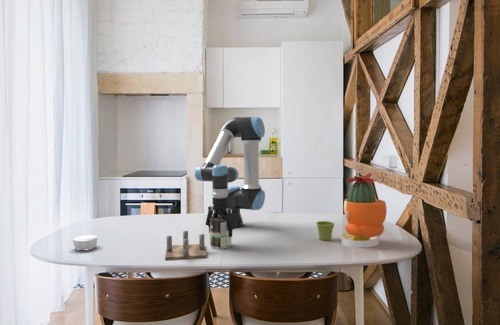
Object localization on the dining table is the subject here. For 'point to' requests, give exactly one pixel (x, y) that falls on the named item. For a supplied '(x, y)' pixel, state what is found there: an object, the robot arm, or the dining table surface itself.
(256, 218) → the dining table surface
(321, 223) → the plant pot
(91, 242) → the ramekin
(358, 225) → the potted cactus
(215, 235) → the coffee can
